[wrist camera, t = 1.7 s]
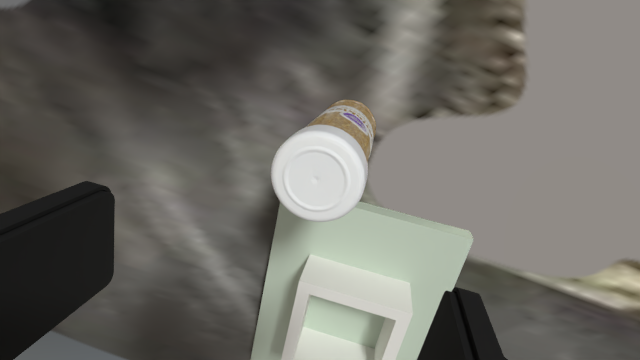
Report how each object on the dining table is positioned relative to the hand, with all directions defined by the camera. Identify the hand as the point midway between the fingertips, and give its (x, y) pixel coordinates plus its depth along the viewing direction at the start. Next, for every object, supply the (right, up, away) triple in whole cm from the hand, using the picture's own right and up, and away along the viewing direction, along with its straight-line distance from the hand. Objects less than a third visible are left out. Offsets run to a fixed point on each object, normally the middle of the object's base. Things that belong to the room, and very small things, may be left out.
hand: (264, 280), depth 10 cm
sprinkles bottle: (+4, +7, +20) cm, 21 cm away
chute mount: (+4, -9, +25) cm, 26 cm away
